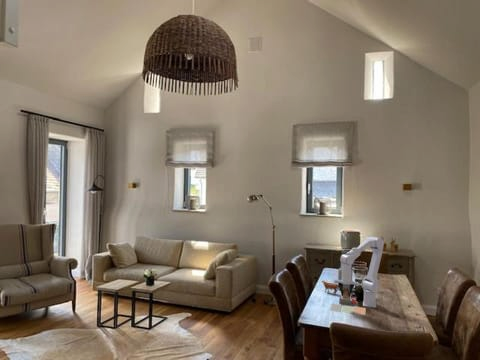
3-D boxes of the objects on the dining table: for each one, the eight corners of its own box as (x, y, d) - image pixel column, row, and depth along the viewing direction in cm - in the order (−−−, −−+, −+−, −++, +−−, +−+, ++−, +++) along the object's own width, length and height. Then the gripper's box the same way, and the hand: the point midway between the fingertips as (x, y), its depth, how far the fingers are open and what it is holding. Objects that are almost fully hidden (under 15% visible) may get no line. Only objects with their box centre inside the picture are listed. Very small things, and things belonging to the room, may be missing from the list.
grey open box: (339, 300, 243) (340, 295, 243) (357, 303, 239) (357, 297, 239) (339, 304, 236) (339, 298, 236) (357, 306, 232) (357, 300, 232)
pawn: (342, 296, 229) (343, 286, 229) (349, 297, 228) (349, 287, 228) (342, 298, 225) (342, 288, 225) (349, 299, 224) (349, 288, 224)
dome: (341, 299, 241) (341, 292, 241) (349, 300, 240) (349, 293, 240) (341, 302, 237) (341, 294, 237) (348, 303, 235) (348, 295, 235)
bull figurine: (322, 289, 267) (323, 278, 267) (339, 294, 257) (339, 282, 257) (319, 291, 264) (319, 279, 264) (336, 295, 254) (336, 283, 254)
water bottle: (346, 287, 275) (347, 250, 275) (354, 291, 266) (355, 252, 266) (335, 288, 272) (336, 250, 272) (342, 292, 262) (343, 253, 262)
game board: (331, 303, 237) (331, 303, 237) (366, 308, 230) (366, 307, 230) (329, 311, 222) (329, 310, 222) (365, 316, 215) (365, 315, 215)
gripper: (333, 274, 225) (333, 296, 225) (358, 276, 220) (358, 299, 220) (334, 271, 232) (334, 293, 232) (358, 274, 227) (358, 296, 227)
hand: (346, 296), depth 227 cm, fingers closed on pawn, 4 cm apart
